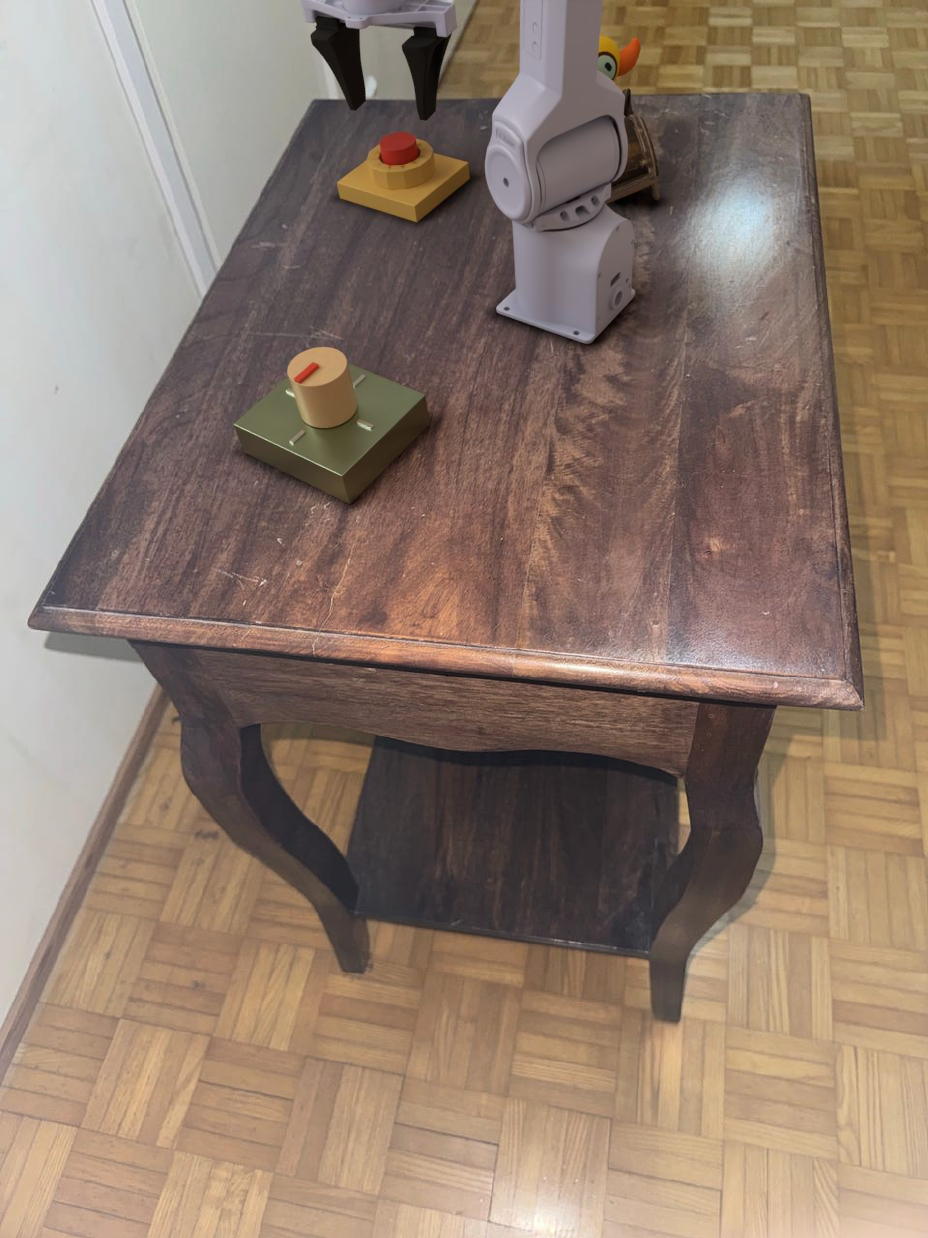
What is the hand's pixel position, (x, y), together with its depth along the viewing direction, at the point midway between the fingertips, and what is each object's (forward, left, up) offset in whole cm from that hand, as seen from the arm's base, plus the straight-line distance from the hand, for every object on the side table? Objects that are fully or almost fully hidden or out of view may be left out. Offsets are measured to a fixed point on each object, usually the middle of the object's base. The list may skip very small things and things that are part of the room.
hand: (392, 110), depth 86 cm
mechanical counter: (-18, -7, -8) cm, 21 cm away
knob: (-18, +32, -5) cm, 37 cm away
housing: (0, 0, -8) cm, 8 cm away
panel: (-18, +32, -8) cm, 37 cm away
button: (0, 0, -5) cm, 5 cm away
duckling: (-12, -15, -8) cm, 21 cm away
